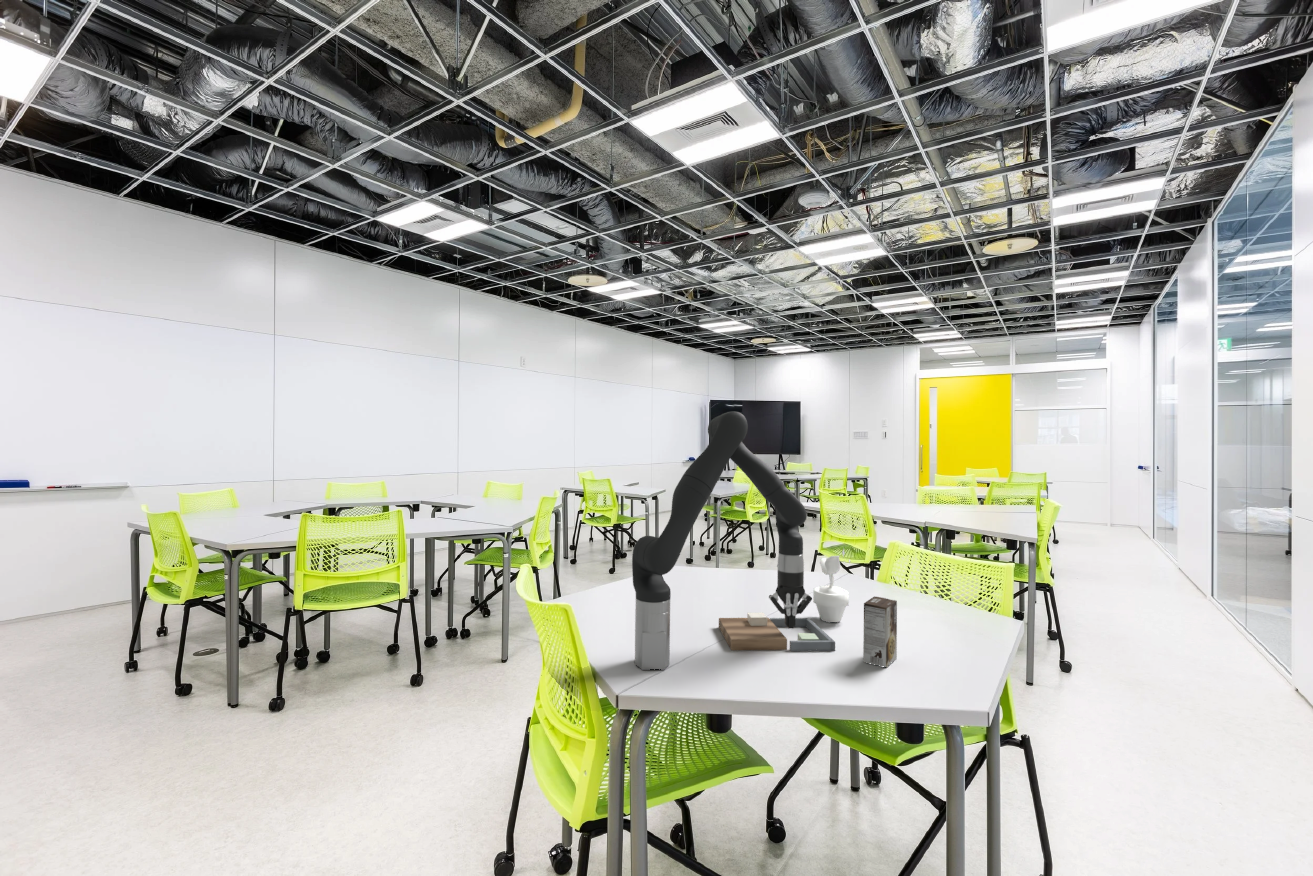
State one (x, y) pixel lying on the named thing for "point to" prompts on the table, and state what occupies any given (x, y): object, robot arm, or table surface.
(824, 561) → the potted plant
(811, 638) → the tile sage
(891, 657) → the coffee box
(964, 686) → the table surface
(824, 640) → the tray
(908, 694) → the table surface
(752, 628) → the board
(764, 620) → the tile cream
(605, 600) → the table surface
